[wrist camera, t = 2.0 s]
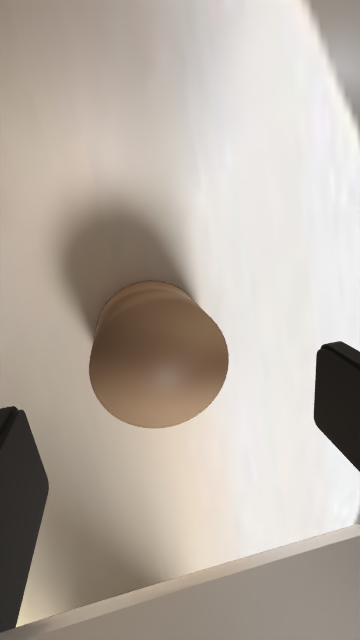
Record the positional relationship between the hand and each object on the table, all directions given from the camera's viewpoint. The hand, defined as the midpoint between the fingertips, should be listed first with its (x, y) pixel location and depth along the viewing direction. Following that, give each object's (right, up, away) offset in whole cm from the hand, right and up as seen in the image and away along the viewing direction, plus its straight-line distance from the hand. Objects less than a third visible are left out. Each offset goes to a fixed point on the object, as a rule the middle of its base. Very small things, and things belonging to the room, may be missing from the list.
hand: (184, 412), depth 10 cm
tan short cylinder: (-2, +2, +10) cm, 10 cm away
